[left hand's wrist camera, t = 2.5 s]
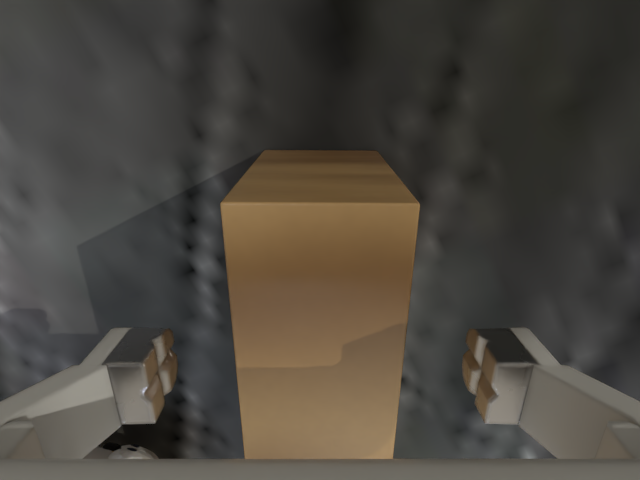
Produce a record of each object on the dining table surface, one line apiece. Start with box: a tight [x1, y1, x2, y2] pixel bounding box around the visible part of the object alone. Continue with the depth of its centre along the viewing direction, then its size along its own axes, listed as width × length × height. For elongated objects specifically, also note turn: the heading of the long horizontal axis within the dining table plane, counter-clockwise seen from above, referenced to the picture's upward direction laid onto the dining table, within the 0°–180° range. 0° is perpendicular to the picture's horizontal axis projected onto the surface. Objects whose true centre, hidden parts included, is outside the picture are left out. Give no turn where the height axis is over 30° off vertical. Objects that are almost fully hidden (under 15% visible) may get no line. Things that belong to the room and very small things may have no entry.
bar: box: [220, 150, 420, 459], centre depth 19 cm, size 24×5×8 cm, turn 0°
